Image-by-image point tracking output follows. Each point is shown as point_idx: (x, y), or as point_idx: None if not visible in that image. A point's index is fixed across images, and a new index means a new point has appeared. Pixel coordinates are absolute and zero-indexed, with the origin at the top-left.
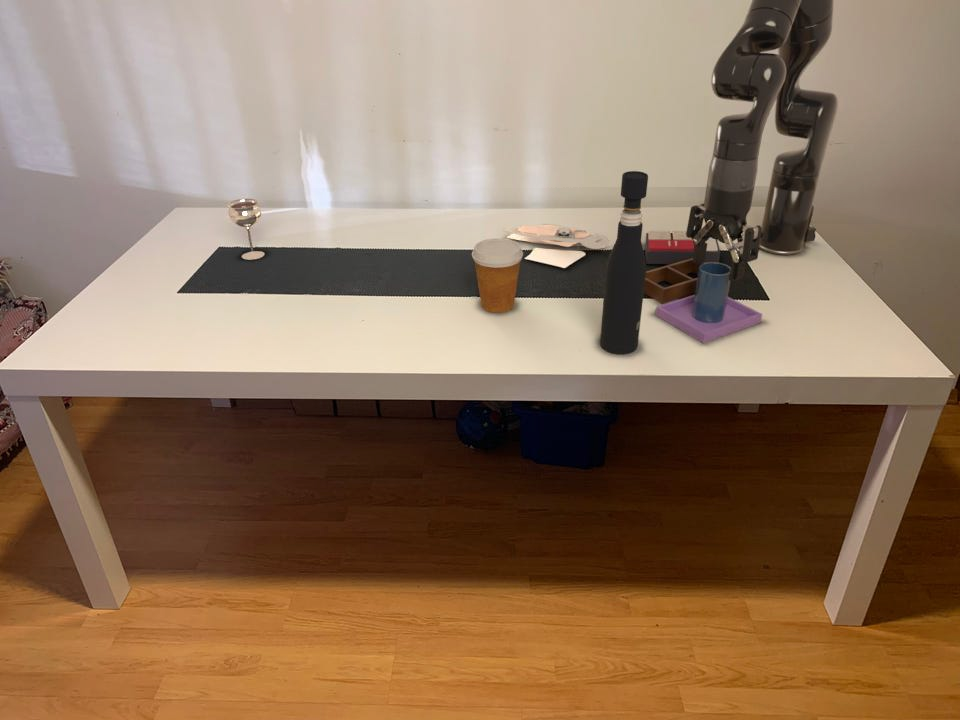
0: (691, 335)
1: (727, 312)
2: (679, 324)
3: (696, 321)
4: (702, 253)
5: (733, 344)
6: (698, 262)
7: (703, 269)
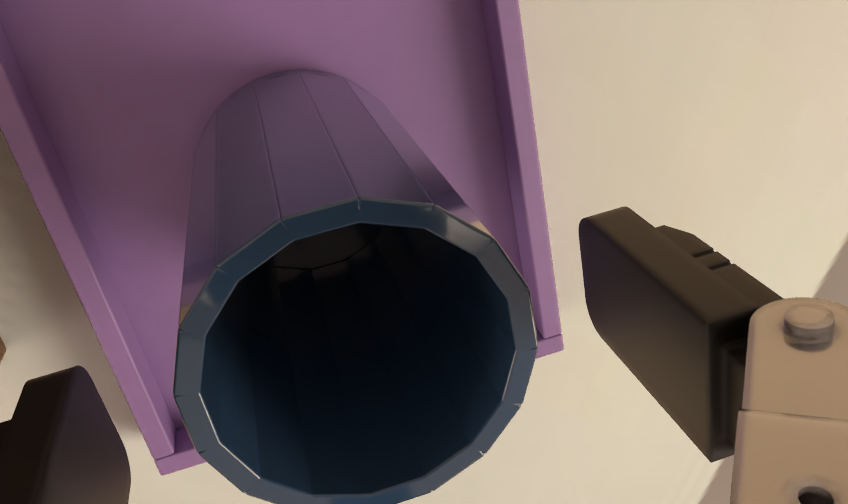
0: None
1: (294, 9)
2: None
3: None
4: (85, 492)
5: (616, 177)
6: (116, 451)
7: (219, 399)
